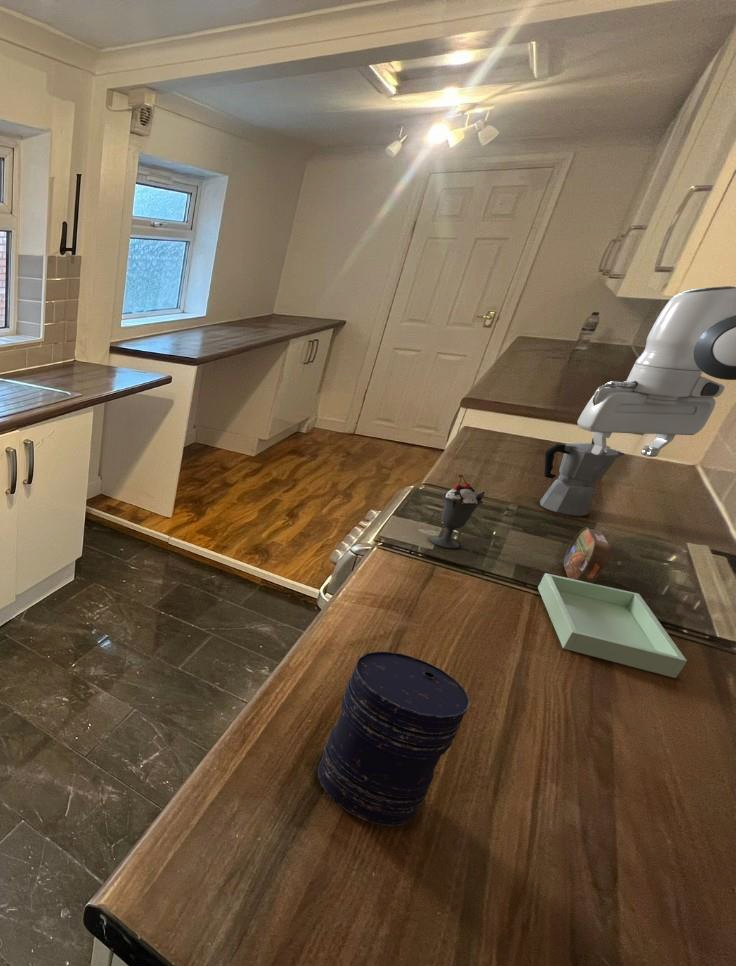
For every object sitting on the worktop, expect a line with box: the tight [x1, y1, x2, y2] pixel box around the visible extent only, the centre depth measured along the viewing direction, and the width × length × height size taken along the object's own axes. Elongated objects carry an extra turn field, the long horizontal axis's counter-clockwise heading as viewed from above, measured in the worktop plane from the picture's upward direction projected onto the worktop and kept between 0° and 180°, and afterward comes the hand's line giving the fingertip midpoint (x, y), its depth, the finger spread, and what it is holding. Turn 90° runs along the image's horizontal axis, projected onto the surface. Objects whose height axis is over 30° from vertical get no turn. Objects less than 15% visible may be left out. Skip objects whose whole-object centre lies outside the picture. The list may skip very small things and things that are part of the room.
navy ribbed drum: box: [317, 651, 470, 827], centre depth 61 cm, size 10×10×15 cm
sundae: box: [430, 474, 486, 550], centre depth 117 cm, size 7×7×15 cm
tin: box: [563, 527, 612, 584], centre depth 108 cm, size 15×3×8 cm, turn 144°
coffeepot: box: [539, 438, 625, 517], centre depth 136 cm, size 15×9×18 cm, turn 79°
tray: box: [537, 572, 688, 679], centre depth 93 cm, size 13×22×3 cm, turn 149°
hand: (623, 455), depth 112 cm, fingers open, 8 cm apart
